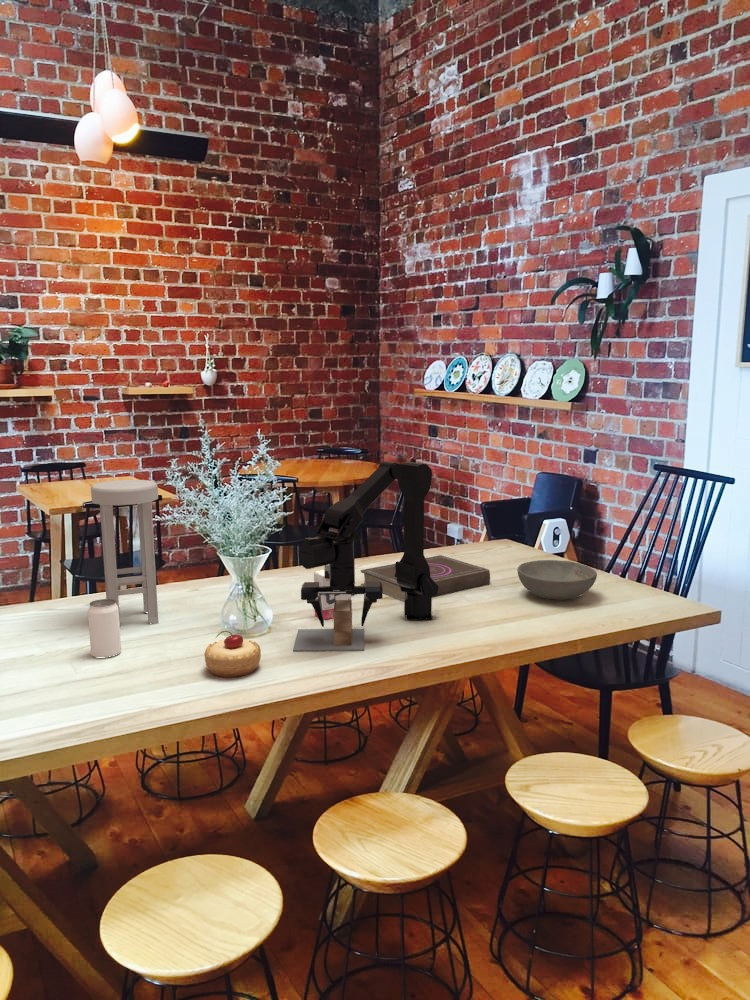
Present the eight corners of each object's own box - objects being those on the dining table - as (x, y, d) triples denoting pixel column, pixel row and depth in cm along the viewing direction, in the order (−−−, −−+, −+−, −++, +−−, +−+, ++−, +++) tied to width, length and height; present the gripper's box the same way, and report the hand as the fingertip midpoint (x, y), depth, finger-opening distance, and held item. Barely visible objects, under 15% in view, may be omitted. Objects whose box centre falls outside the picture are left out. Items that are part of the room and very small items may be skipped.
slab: (352, 632, 191) (351, 599, 190) (351, 645, 182) (351, 611, 181) (335, 632, 191) (334, 599, 189) (334, 645, 182) (333, 611, 181)
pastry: (265, 678, 166) (264, 638, 164) (207, 684, 163) (206, 643, 161) (256, 656, 177) (256, 618, 175) (202, 661, 174) (201, 622, 172)
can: (97, 648, 182) (93, 598, 180) (125, 648, 182) (122, 598, 180) (86, 659, 176) (82, 606, 174) (115, 659, 176) (112, 606, 174)
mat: (364, 630, 194) (364, 628, 193) (364, 650, 180) (364, 649, 180) (298, 630, 193) (298, 629, 193) (293, 651, 180) (293, 649, 179)
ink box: (323, 620, 201) (322, 575, 199) (314, 615, 205) (313, 571, 203) (352, 614, 206) (351, 570, 204) (342, 609, 210) (341, 566, 208)
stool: (168, 624, 199) (160, 486, 193) (102, 633, 193) (93, 490, 187) (159, 607, 213) (152, 477, 207) (98, 614, 207) (89, 481, 201)
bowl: (569, 583, 233) (570, 557, 231) (611, 603, 213) (612, 574, 212) (504, 590, 226) (504, 563, 225) (541, 612, 207) (542, 582, 205)
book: (440, 570, 250) (441, 555, 249) (490, 586, 232) (490, 569, 231) (360, 586, 233) (360, 569, 232) (407, 605, 215) (407, 587, 214)
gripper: (381, 552, 191) (381, 614, 194) (303, 553, 191) (305, 615, 194) (382, 564, 180) (382, 629, 183) (299, 564, 180) (301, 630, 183)
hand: (342, 626), depth 186 cm, fingers open, 9 cm apart
